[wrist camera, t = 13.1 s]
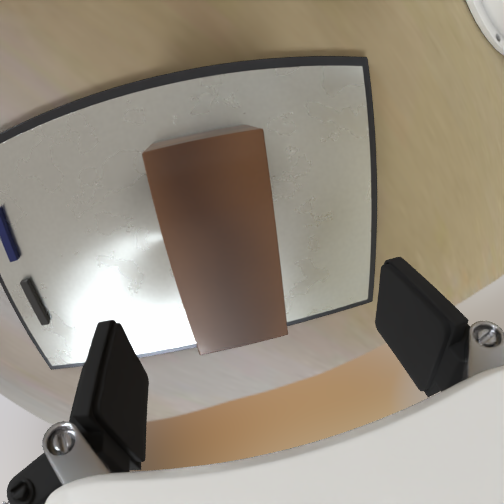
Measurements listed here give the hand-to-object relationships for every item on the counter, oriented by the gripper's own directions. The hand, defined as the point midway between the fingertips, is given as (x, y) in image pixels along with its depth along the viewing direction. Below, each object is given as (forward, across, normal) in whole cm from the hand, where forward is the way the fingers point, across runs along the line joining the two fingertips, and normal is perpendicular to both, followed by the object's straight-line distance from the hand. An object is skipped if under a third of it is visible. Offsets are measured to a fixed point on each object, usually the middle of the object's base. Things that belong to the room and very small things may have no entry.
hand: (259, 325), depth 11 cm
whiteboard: (+12, +4, 0) cm, 12 cm away
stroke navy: (+10, +16, -3) cm, 19 cm away
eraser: (+11, +1, 0) cm, 11 cm away
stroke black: (+10, +16, +3) cm, 19 cm away
